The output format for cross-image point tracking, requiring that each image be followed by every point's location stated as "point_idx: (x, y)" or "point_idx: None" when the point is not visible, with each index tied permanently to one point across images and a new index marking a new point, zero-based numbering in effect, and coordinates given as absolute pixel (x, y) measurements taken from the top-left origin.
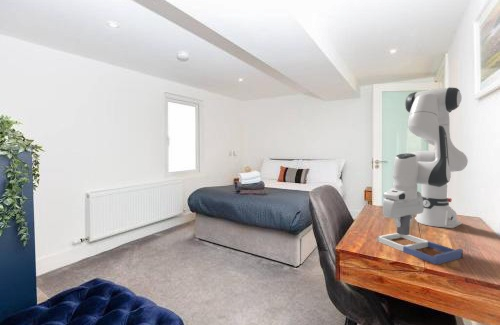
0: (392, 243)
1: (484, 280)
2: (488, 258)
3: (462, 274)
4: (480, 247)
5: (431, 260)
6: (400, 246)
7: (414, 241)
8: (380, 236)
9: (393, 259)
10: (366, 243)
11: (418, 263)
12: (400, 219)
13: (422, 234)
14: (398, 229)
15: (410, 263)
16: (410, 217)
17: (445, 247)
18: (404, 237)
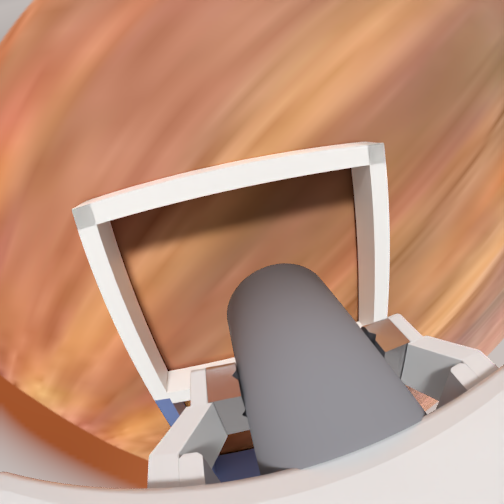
0: (125, 339)
1: None
2: (424, 404)
3: None
4: (496, 326)
5: None
6: (148, 382)
7: (359, 261)
8: (102, 213)
9: (69, 414)
10: (8, 228)
11: (150, 448)
12: (255, 450)
13: (488, 154)
14: (231, 338)
15: (119, 444)
16: (442, 386)
17: None
18: (357, 188)
